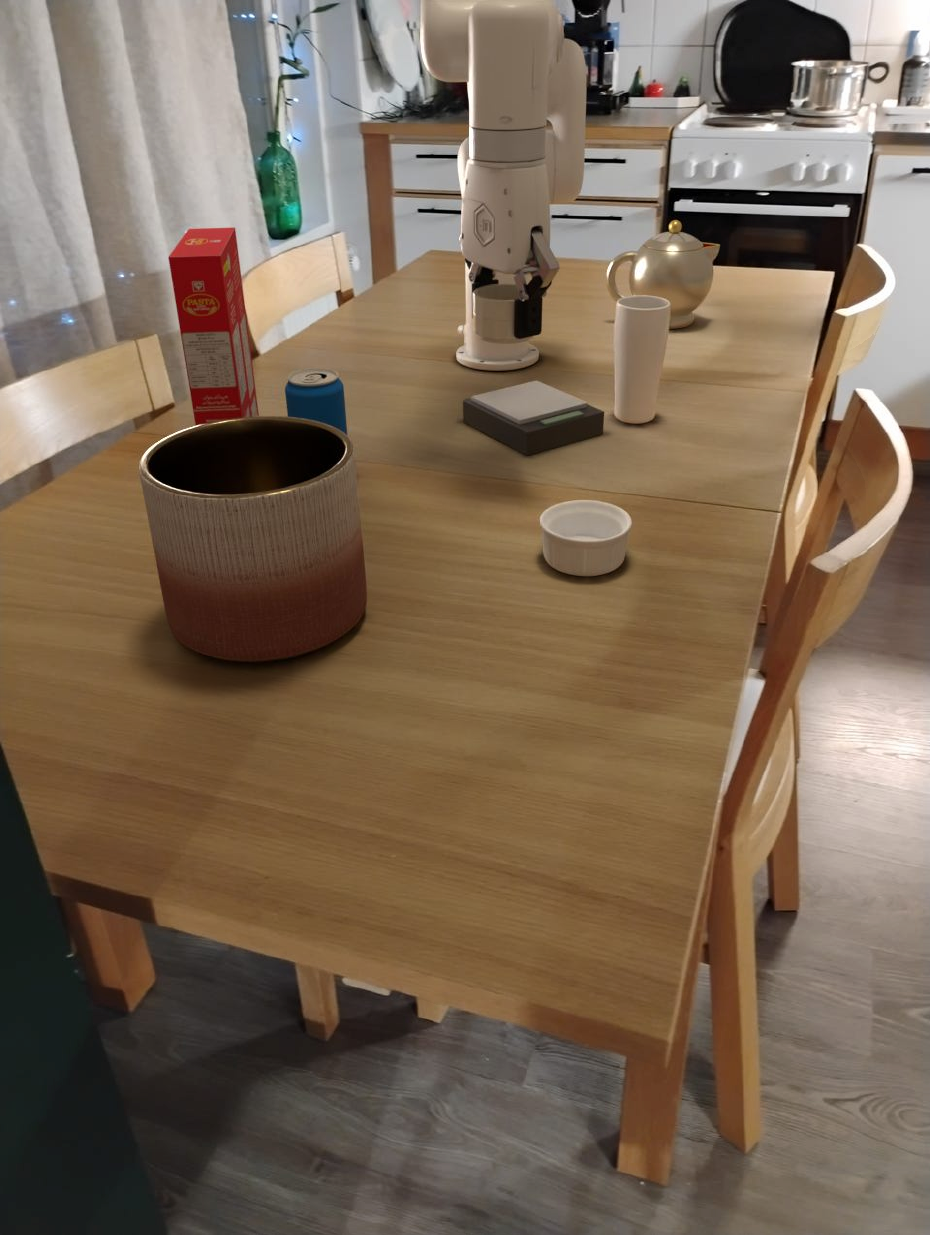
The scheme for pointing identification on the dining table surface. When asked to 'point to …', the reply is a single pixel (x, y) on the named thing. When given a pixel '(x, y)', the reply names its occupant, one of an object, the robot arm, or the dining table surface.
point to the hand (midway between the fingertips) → (506, 326)
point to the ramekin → (585, 537)
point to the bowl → (495, 313)
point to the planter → (256, 536)
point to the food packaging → (213, 324)
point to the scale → (533, 417)
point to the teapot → (669, 272)
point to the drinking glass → (639, 355)
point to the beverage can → (317, 397)
